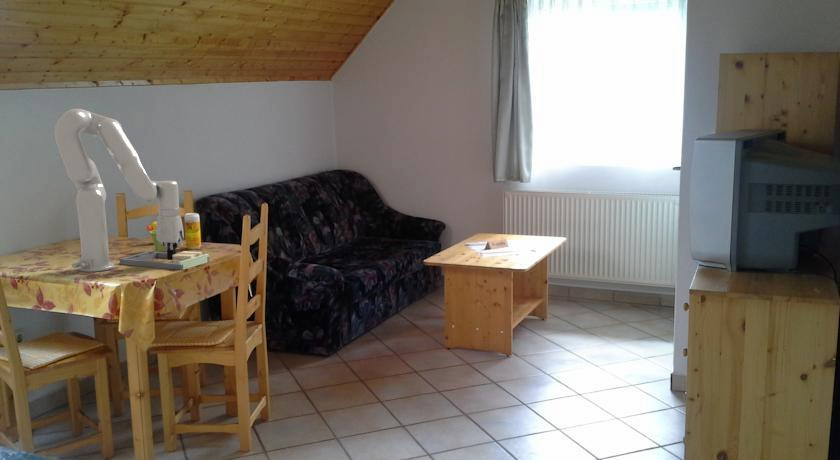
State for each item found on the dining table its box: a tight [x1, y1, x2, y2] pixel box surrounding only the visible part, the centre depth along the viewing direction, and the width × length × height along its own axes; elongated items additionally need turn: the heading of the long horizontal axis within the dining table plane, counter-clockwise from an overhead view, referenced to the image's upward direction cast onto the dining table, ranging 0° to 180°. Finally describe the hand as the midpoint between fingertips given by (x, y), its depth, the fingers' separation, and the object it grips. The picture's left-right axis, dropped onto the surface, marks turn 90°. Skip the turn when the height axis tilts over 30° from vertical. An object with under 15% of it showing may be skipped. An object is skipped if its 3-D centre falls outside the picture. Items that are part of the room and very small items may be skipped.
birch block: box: [172, 250, 203, 264], centre depth 298 cm, size 8×8×4 cm
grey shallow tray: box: [119, 250, 210, 271], centre depth 300 cm, size 16×30×3 cm, turn 67°
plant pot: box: [149, 230, 167, 253], centre depth 322 cm, size 9×9×9 cm
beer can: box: [184, 212, 202, 250], centre depth 328 cm, size 6×6×15 cm
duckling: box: [146, 220, 157, 242], centre depth 340 cm, size 11×5×10 cm, turn 140°
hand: (171, 259), depth 298 cm, fingers closed
